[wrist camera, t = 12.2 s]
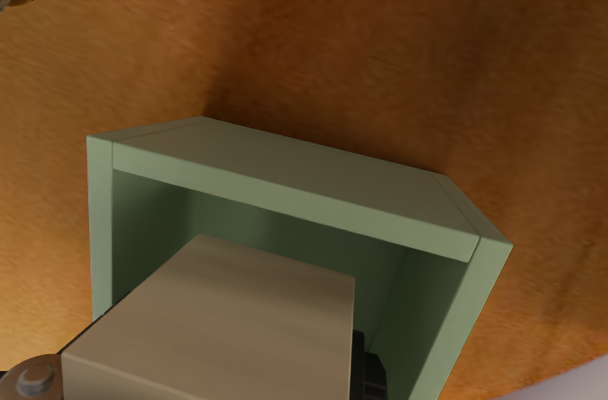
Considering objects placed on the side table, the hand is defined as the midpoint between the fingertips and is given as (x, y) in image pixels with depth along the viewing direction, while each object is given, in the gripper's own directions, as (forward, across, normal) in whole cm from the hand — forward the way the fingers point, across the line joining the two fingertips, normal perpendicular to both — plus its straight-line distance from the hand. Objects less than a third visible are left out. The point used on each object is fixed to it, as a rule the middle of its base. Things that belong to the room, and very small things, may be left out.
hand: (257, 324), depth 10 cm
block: (0, 0, 0) cm, 0 cm away
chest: (+7, 0, 0) cm, 7 cm away
